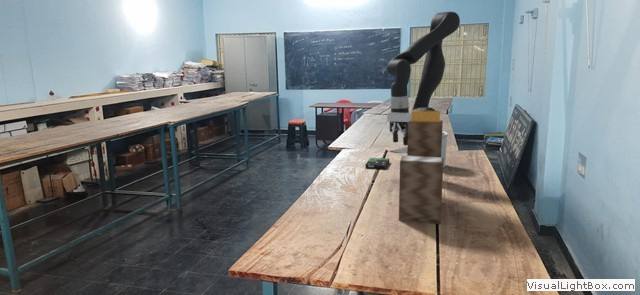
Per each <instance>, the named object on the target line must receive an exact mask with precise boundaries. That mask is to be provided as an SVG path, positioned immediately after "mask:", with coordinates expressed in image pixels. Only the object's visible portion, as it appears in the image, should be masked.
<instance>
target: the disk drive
mask: <svg viewBox="0 0 640 295" xmlns="http://www.w3.org/2000/svg"><path fill="white" fill-rule="evenodd" d="M389 164H390V158H386V157H385V158H383V157H380V158H379V157H371V158H369V160H367V162H366V163H365V169H367V170H370V169H371V170H387V167H388V165H389Z"/></svg>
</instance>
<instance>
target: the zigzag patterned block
mask: <svg viewBox="0 0 640 295" xmlns="http://www.w3.org/2000/svg"><path fill="white" fill-rule="evenodd" d="M443 122H444V121H443V120H442V119H440V123H424V122H408V145H407V147H408V149H407V153H406V154H407V155H402V156H401V159H400V160H399V189H398V190H399V194H398V198H399V199H398V204H399V205H398V221H402V222H405V221H406V222H412V221H413V223H414V222H415V223H422V224H423V223H425V224H434V225H435V224H437V225H441V221H442V205H443V204H442V203H443V179H444V168H443V160H444V158H442V157H441V150H442V131H443V127H444V126H443Z"/></svg>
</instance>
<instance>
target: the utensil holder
mask: <svg viewBox="0 0 640 295" xmlns="http://www.w3.org/2000/svg"><path fill="white" fill-rule="evenodd" d="M448 135H449V133H448V132H446V131H443V130H442V150H441V157H442V158H444V160H443V169H444V168H445V167H446V159H447V146H448V144H447V143H448V142H447V141H448Z"/></svg>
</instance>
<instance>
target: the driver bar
mask: <svg viewBox="0 0 640 295" xmlns="http://www.w3.org/2000/svg"><path fill="white" fill-rule="evenodd" d="M411 112H412V113H411ZM411 112H409V113H396V112H391V111H390V112H389V111H388V112H387V117H386V118H387V119H386V121H387V122H390V121H394V122H424V123H440V120H441V110H436V109H435V110H412V109H411Z"/></svg>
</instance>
